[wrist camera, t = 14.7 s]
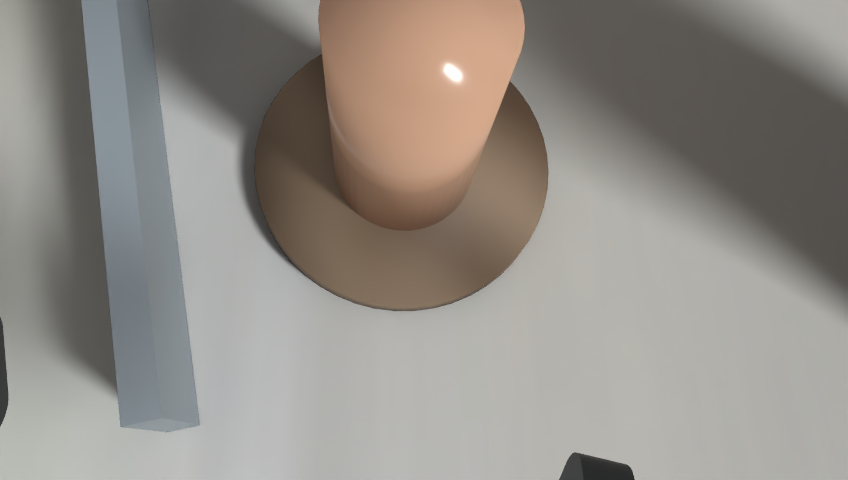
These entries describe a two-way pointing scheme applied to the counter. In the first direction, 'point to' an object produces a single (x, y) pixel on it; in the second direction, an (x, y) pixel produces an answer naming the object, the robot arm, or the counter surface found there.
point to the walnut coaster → (385, 248)
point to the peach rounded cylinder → (414, 99)
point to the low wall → (138, 221)
